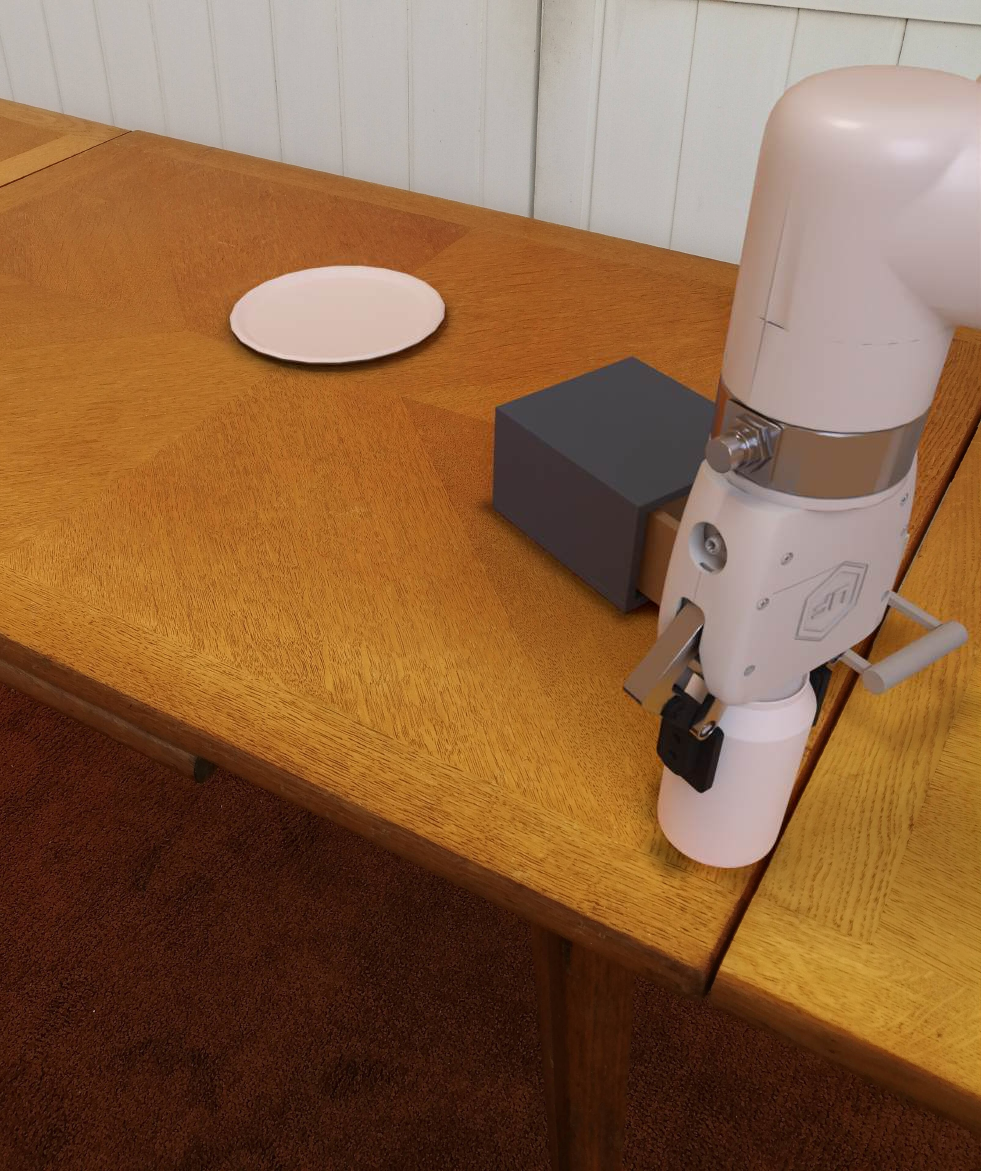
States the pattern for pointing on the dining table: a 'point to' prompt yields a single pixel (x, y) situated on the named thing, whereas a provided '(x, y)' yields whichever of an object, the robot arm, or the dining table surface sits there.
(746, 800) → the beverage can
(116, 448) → the dining table surface
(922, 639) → the drawer
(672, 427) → the cabinet
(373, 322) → the plate
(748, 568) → the robot arm
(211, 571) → the dining table surface
